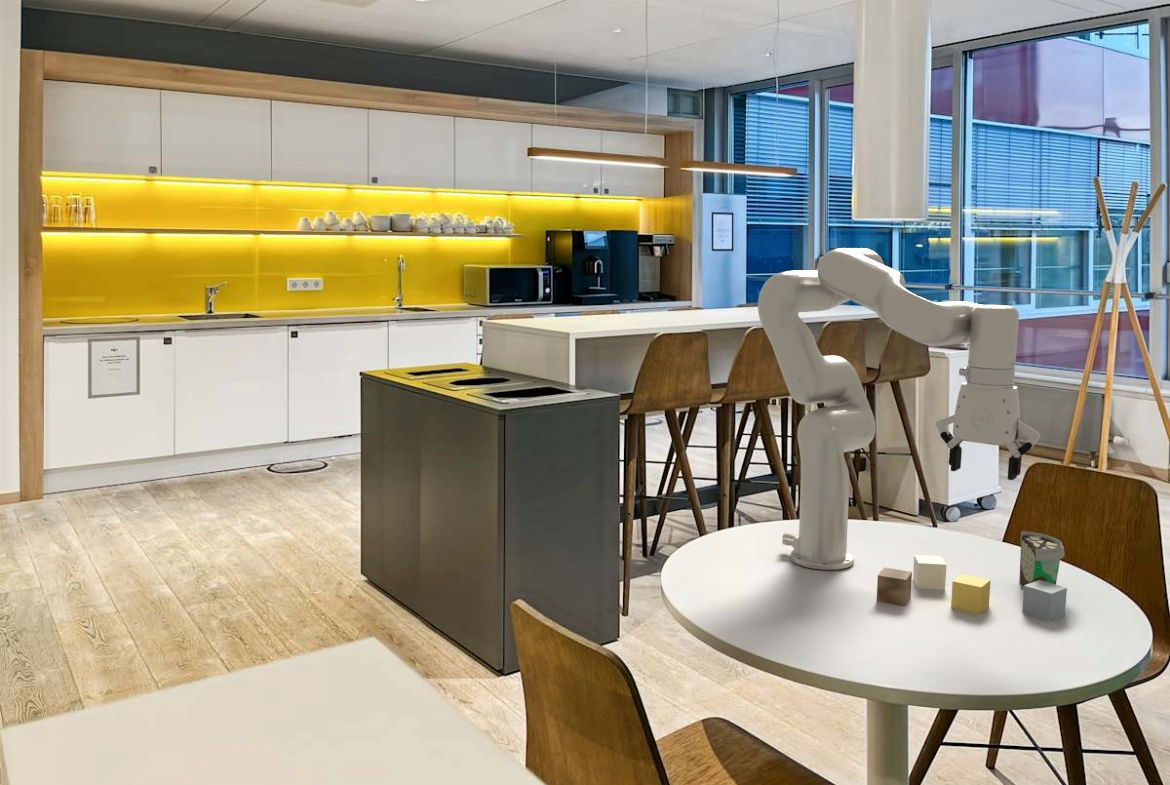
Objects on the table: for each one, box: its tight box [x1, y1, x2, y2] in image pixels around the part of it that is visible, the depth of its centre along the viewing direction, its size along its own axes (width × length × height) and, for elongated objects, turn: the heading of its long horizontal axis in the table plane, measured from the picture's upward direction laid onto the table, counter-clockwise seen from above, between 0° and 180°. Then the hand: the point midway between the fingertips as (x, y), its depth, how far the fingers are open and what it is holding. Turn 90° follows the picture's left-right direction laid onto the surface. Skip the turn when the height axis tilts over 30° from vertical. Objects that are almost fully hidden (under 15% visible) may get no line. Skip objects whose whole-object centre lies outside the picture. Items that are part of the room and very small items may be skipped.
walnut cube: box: [876, 567, 913, 607], centre depth 179 cm, size 5×5×5 cm
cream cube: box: [912, 554, 947, 591], centre depth 187 cm, size 5×5×5 cm
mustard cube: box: [950, 573, 991, 615], centre depth 175 cm, size 5×5×5 cm
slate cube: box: [1021, 580, 1068, 622], centre depth 172 cm, size 5×5×5 cm
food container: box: [1018, 531, 1066, 591], centre depth 182 cm, size 12×6×10 cm, turn 168°
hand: (983, 474), depth 172 cm, fingers open, 9 cm apart
